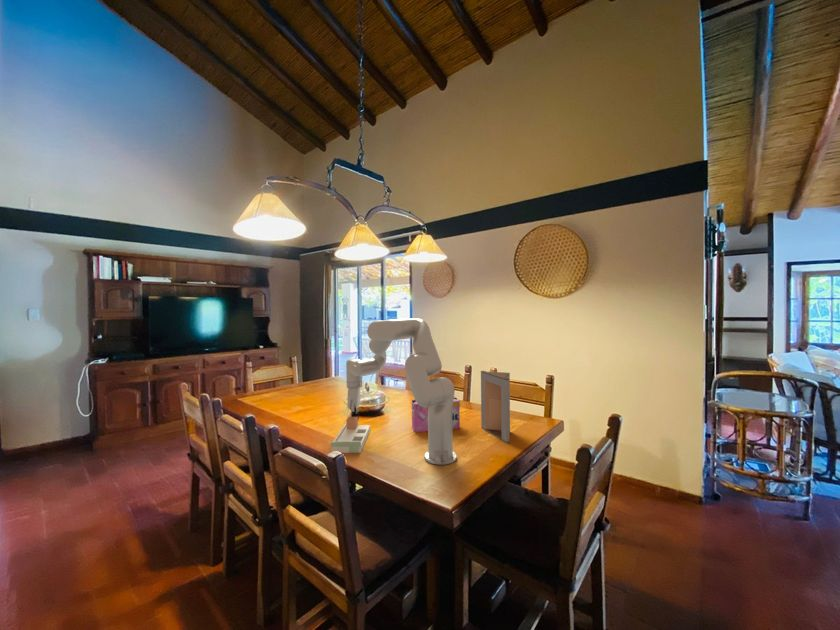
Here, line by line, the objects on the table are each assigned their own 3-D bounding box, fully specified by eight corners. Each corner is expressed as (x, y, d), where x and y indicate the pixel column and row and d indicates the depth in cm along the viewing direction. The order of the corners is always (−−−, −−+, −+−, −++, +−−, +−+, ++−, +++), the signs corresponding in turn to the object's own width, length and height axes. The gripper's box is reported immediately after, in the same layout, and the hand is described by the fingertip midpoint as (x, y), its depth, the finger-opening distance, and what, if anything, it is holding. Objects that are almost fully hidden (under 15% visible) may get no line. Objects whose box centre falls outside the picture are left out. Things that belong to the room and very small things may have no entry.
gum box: (458, 423, 177) (457, 397, 177) (462, 428, 170) (462, 401, 169) (411, 427, 173) (411, 399, 173) (414, 432, 165) (413, 404, 165)
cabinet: (481, 427, 170) (480, 370, 170) (498, 425, 174) (497, 369, 173) (506, 443, 151) (505, 378, 150) (524, 439, 154) (524, 377, 154)
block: (356, 429, 164) (355, 419, 163) (346, 429, 164) (346, 419, 164) (357, 425, 168) (357, 416, 168) (348, 426, 168) (348, 416, 168)
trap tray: (360, 452, 143) (360, 441, 143) (331, 453, 143) (331, 442, 143) (370, 430, 169) (370, 421, 169) (345, 430, 169) (345, 421, 169)
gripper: (349, 381, 179) (350, 416, 180) (343, 387, 164) (343, 426, 165) (364, 380, 179) (365, 416, 179) (359, 387, 164) (359, 426, 164)
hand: (355, 420), depth 172 cm, fingers closed
